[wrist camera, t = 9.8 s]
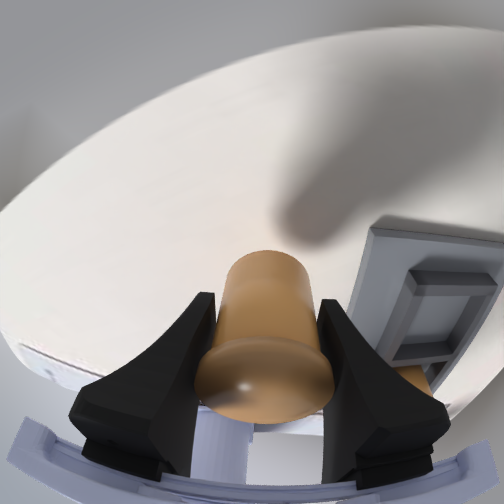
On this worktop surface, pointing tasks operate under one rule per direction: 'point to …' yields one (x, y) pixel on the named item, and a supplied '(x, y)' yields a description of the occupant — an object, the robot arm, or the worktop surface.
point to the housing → (424, 297)
